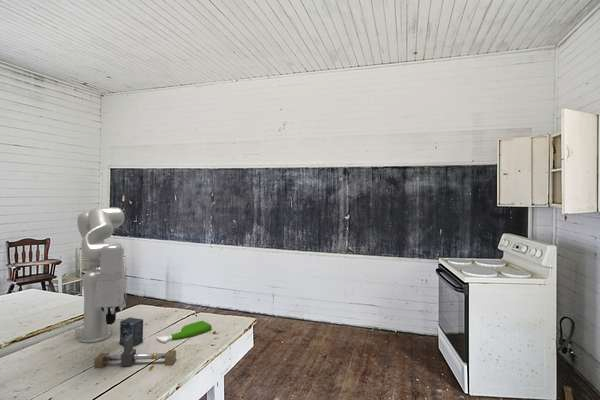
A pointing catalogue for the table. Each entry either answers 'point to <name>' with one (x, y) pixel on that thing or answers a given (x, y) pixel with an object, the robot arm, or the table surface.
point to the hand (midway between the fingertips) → (110, 323)
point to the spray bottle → (187, 331)
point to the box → (131, 330)
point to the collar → (128, 352)
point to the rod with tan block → (135, 358)
